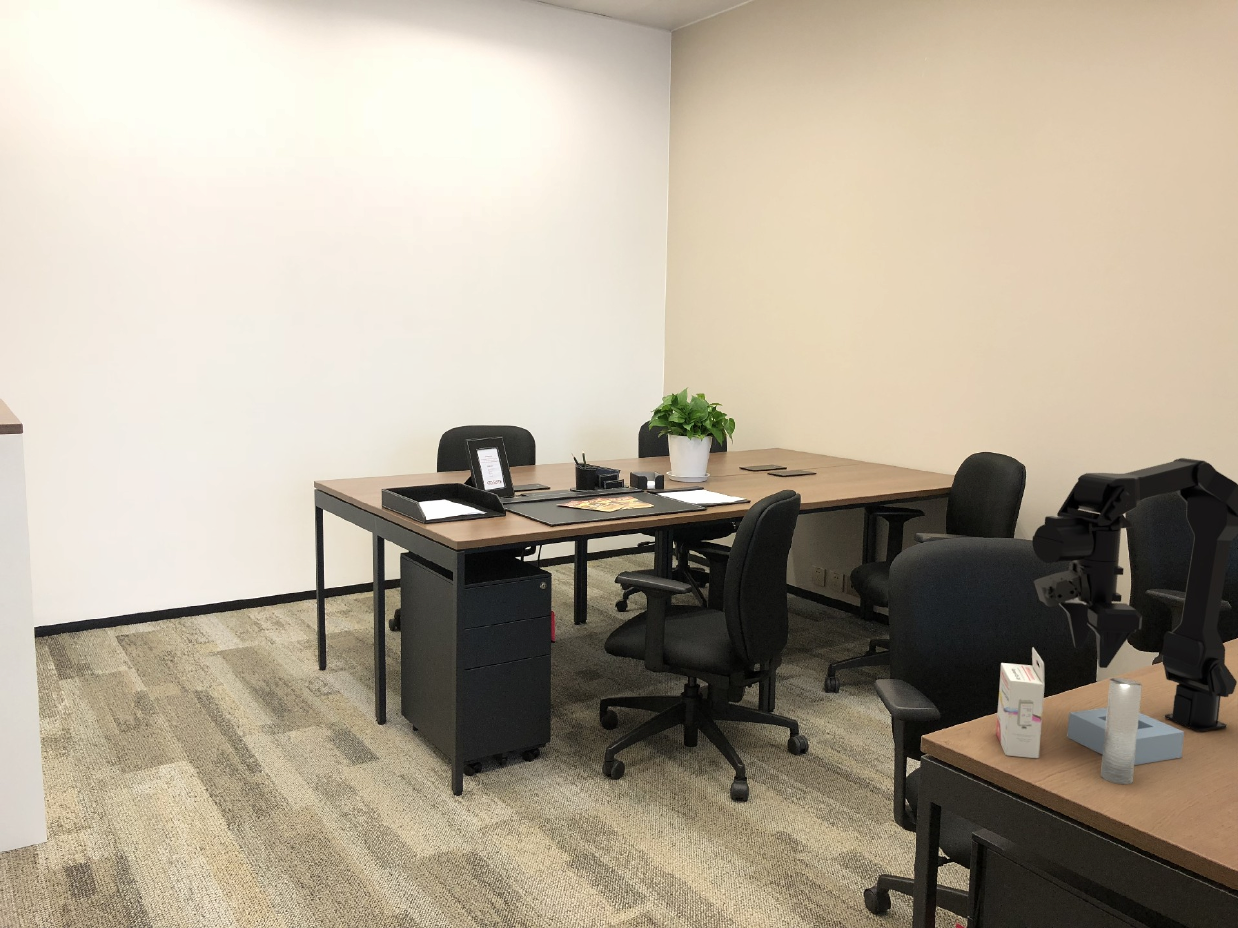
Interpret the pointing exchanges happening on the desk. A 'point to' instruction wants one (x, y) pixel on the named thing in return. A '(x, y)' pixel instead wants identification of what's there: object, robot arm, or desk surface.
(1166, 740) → the bracket block
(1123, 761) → the silver tall cylinder
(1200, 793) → the desk surface
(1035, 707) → the ink cartridge box
